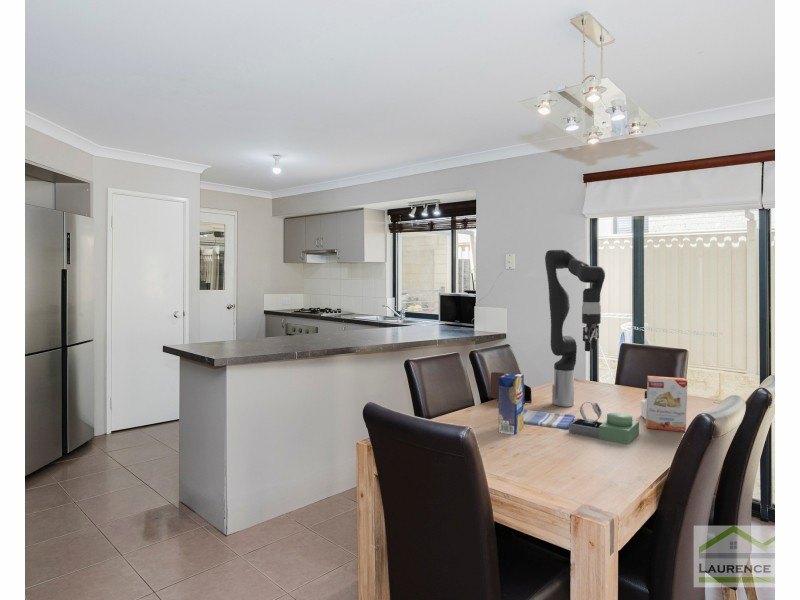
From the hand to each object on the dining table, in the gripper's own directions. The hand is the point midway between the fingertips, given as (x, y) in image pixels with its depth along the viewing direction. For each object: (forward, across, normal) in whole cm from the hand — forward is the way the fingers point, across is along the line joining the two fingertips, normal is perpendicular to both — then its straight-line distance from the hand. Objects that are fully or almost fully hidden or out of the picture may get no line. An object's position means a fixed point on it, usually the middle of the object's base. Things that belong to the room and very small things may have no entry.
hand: (590, 350), depth 220 cm
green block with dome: (+30, +18, +17) cm, 39 cm away
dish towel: (+31, +15, -15) cm, 37 cm away
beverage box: (+30, +36, -20) cm, 51 cm away
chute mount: (+30, +20, +6) cm, 37 cm away
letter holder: (+30, -11, -43) cm, 54 cm away
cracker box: (+30, -4, +29) cm, 42 cm away
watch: (+29, +19, +6) cm, 35 cm away
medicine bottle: (+30, -18, +21) cm, 41 cm away
